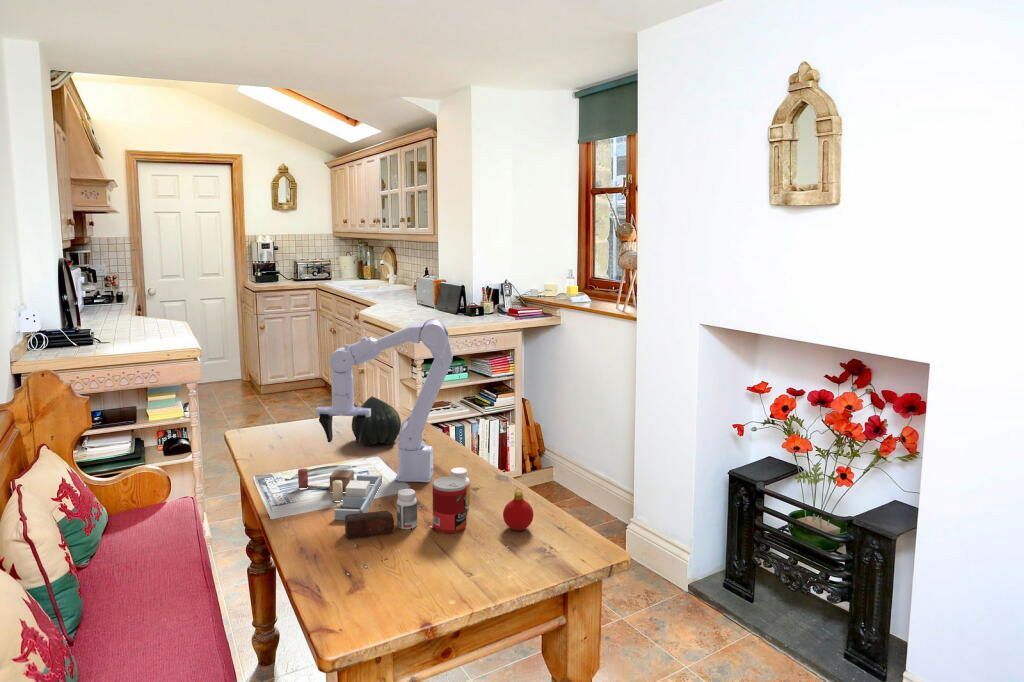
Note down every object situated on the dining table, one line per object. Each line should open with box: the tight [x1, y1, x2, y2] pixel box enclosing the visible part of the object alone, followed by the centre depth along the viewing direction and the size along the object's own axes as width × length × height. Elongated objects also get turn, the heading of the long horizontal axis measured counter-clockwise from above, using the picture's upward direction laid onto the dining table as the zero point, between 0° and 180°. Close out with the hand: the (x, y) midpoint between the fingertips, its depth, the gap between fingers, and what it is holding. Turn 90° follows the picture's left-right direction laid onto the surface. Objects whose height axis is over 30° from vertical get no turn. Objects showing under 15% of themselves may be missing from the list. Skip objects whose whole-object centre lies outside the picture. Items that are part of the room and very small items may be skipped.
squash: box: [351, 395, 402, 446], centre depth 225 cm, size 14×15×15 cm
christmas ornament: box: [502, 487, 534, 531], centre depth 166 cm, size 7×7×10 cm
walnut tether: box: [297, 468, 355, 493], centre depth 188 cm, size 14×5×5 cm, turn 88°
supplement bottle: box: [450, 467, 471, 510], centre depth 178 cm, size 5×5×10 cm
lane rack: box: [334, 474, 383, 521], centre depth 181 cm, size 7×22×2 cm, turn 178°
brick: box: [344, 510, 395, 540], centre depth 163 cm, size 11×4×5 cm, turn 111°
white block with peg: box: [332, 479, 371, 502], centre depth 181 cm, size 9×5×5 cm, turn 88°
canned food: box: [432, 476, 468, 534], centre depth 167 cm, size 8×8×11 cm
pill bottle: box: [396, 488, 418, 530], centre depth 167 cm, size 5×5×8 cm
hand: (344, 441), depth 194 cm, fingers open, 7 cm apart
